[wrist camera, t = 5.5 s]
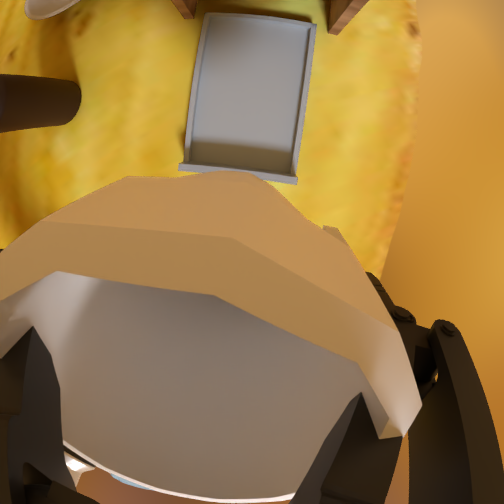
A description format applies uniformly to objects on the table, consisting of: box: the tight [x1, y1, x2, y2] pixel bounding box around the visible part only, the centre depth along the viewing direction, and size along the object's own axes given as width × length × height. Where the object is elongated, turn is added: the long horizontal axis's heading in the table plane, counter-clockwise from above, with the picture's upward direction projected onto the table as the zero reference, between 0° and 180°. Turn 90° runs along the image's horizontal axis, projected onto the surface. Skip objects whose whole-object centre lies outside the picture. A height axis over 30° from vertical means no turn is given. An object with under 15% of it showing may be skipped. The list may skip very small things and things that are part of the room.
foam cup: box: [0, 170, 422, 503], centre depth 10 cm, size 10×9×13 cm
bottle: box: [0, 74, 81, 133], centre depth 20 cm, size 7×7×20 cm
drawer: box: [178, 13, 317, 185], centre depth 27 cm, size 20×13×4 cm, turn 173°
